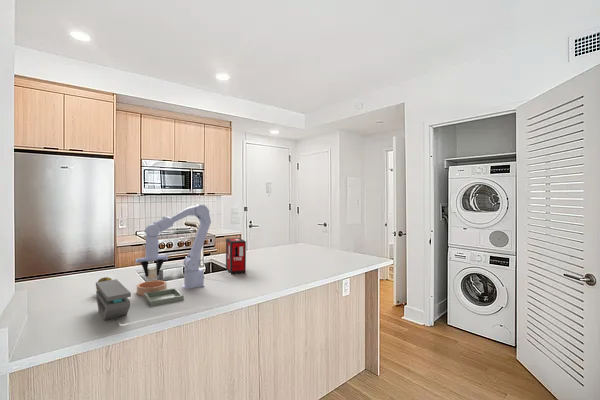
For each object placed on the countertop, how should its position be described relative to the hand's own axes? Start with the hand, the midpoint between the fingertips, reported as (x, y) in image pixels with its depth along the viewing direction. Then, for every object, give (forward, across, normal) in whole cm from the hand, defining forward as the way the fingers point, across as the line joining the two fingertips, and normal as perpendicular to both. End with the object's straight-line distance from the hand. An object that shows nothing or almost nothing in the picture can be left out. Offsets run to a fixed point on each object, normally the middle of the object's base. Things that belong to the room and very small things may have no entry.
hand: (152, 275), depth 154 cm
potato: (+9, -19, +8) cm, 22 cm away
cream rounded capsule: (+1, 0, 0) cm, 1 cm away
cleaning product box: (+9, +53, +16) cm, 56 cm away
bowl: (+8, 0, 0) cm, 8 cm away
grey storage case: (+9, -19, -20) cm, 29 cm away
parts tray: (+8, +2, -15) cm, 17 cm away
